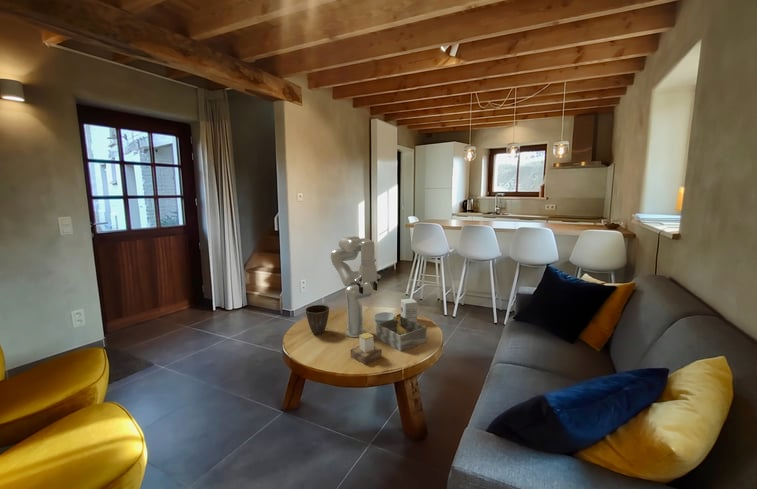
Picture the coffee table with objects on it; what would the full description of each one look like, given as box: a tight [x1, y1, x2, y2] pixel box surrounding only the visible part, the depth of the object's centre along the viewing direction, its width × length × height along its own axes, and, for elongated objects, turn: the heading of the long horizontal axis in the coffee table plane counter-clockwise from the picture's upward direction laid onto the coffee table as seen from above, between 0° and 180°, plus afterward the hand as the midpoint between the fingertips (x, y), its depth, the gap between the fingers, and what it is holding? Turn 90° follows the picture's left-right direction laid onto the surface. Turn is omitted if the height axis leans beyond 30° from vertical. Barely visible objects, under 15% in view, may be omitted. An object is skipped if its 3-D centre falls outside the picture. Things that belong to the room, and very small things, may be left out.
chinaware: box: [373, 311, 396, 324], centre depth 226 cm, size 15×15×8 cm
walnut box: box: [350, 345, 383, 366], centre depth 186 cm, size 12×12×5 cm
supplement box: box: [400, 297, 418, 323], centre depth 235 cm, size 9×9×15 cm
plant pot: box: [305, 304, 330, 335], centre depth 218 cm, size 15×15×16 cm
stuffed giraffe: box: [393, 313, 407, 335], centre depth 206 cm, size 16×18×16 cm
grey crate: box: [375, 317, 428, 352], centre depth 207 cm, size 23×21×9 cm
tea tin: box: [358, 332, 375, 353], centre depth 185 cm, size 6×6×8 cm
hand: (368, 291), depth 194 cm, fingers open, 9 cm apart
